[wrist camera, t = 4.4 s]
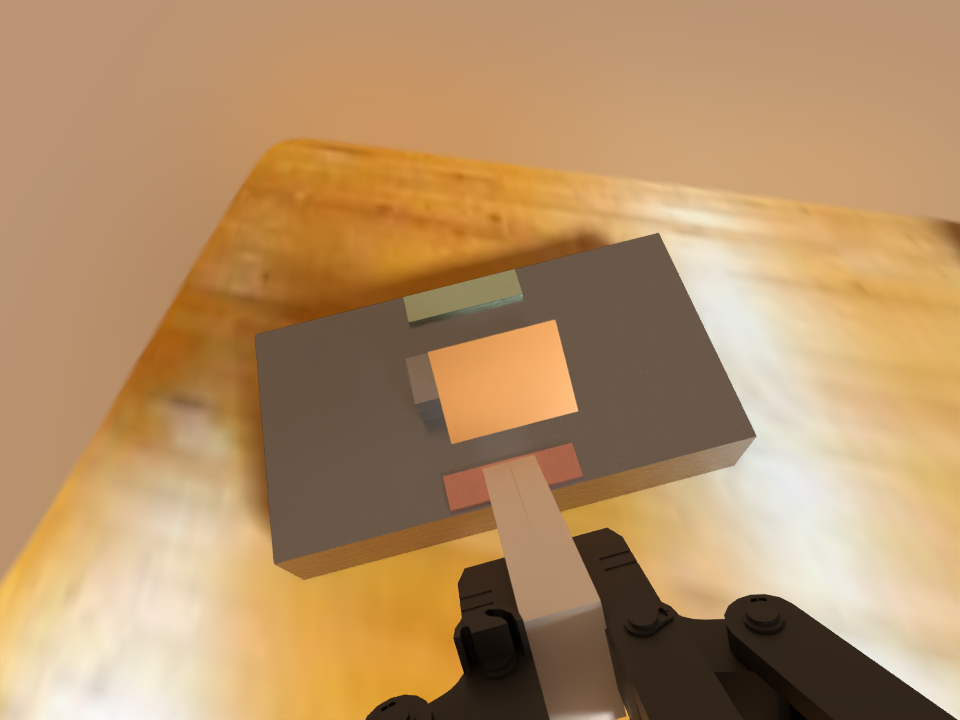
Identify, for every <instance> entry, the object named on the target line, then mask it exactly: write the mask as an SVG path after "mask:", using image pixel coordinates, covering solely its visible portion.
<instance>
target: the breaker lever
mask: <svg viewBox="0 0 960 720" xmlns="http://www.w3.org/2000/svg"><path fill="white" fill-rule="evenodd" d="M428 355H429V359H430V363H431V367H432V371H433V374H434V378H435V382H436V386H437V390H438V394H439V398H440V402H441V405H442V409H443V413H444V417H445V421H446V425H447V429H448V433H449V436H450V440H451V444H454V443H458V442H462V441H466V440H470V439H473V438H477V437H481V436H485V435H489V434H493V433H497V432H500V431H504V430H508V429H512V428H516V427H520V426H523V425H527V424H531V423H535V422H539V421H543V420H546V419H550V418H554V417H558V416H562V415H566V414H569V413H573V412H577V411H578V408H577V404H576V400H575V396H574V392H573V388H572V384H571V380H570V376H569V372H568V368H567V364H566V360H565V356H564V352H563V348H562V344H561V340H560V336H559V332H558V328H557V324H556V320H551V321H547V322H543V323H540V324H536V325H532V326H528V327H524V328H520V329H516V330H512V331H508V332H504V333H500V334H496V335H493V336H489V337H485V338H481V339H477V340H473V341H469V342H465V343H461V344H457V345H453V346H449V347H446V348H442V349H438V350H434V351H430V352H428Z"/></svg>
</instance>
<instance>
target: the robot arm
mask: <svg viewBox="0 0 960 720" xmlns="http://www.w3.org/2000/svg"><path fill="white" fill-rule="evenodd" d="M483 473H484V477H485V481H486V485H487V489H488V493H489V497H490V501H491V505H492V509H493V513H494V516H495V520H496V524H497V528H498V532H499V536H500V540H501V544H502V548H503V552H504V556H505V558H501V559H497V560H494V561H490V562H487V563H483V564H479V565H476V566H472V567H468V568H465V569H464V571H463V573H462V576H461V578H460V580H459V582H458V589H459V598H460V606H461V613H462V619H461V621H460V622H459V624H458V625H457V627H456V628H455V632H454V638H453V639H454V642H455V645H456V649H457V652H458V655H459V658H460V662H461V665H462V668H463V671H464V674H463V675H462V677H461V678H460V680H459V681H458V683H457V684H456V685H455V686H454V687H453V688H452V689H451V690H449V691H448V692H446V693H445V694H444V695H442V696H441V697H439V698H437V699H435V700H434V701H432V702H430V703H429V704H428V703H427V701H426V700H424V699H422V698H420V697H418V696H415V695H401V696H397V697H393V698H390V699H389V700H387V701H385V702H383V703H382V704H380V705H378V706H377V707H376V708H375V709H374V710H373V711H372V712H371V713H370V714H369V715H368V716H367V718H366V720H615V719H618V718H622V717H625V716H626V713H625V708H626V710H627V713H628V715H629V717H630V720H957V719H956V718H954V717H953V716H951V715H950V714H949V713H947V712H946V711H944V710H943V709H941V708H940V707H939V706H937V705H936V704H934V703H933V702H932V701H930V700H929V699H927V698H926V697H924V696H923V695H922V694H920V693H919V692H917V691H916V690H914V689H913V688H912V687H910V686H909V685H907V684H906V683H905V682H903V681H902V680H900V679H899V678H897V677H896V676H895V675H893V674H892V673H890V672H889V671H887V670H886V669H885V668H883V667H882V666H880V665H879V664H878V663H876V662H875V661H873V660H872V659H870V658H869V657H868V656H866V655H865V654H863V653H862V652H860V651H859V650H858V649H856V648H855V647H853V646H852V645H851V644H849V643H848V642H846V641H845V640H843V639H842V638H841V637H839V636H838V635H836V634H835V633H833V632H832V631H831V630H829V629H828V628H826V627H825V626H824V625H822V624H821V623H819V622H818V621H816V620H815V619H814V618H812V617H811V616H809V615H808V614H806V613H805V612H804V611H802V610H801V609H799V608H798V607H797V606H795V605H794V604H792V603H790V602H788V601H786V600H784V599H782V598H780V597H776V596H771V595H766V594H759V595H748V596H745V597H742V598H739V599H737V600H736V601H734V602H733V603H732V604H730V605H729V606H728V608H727V610H726V612H725V615H724V616H725V619H712V620H701V619H691V618H686V617H682V616H680V615H678V613H677V612H676V611H675V610H674V609H673V608H672V607H671V606H669V605H667V604H665V603H662V602H661V601H660V599H659V597H658V596H657V594H656V592H655V590H654V589H653V587H652V585H651V584H650V582H649V580H648V579H647V577H646V575H645V574H644V572H643V570H642V569H641V567H640V565H639V564H638V563H637V560H636V559H635V557H634V555H633V554H632V552H631V551H630V549H629V547H628V545H627V544H626V542H625V540H624V539H623V537H622V536H620V535H619V534H617V533H615V532H614V531H612V530H610V529H609V528H604V529H601V530H597V531H593V532H590V533H586V534H582V535H579V536H575V537H571V534H570V532H569V530H568V528H567V526H566V523H565V521H564V519H563V517H562V515H561V512H560V510H559V508H558V506H557V504H556V501H555V499H554V497H553V495H552V493H551V490H550V488H549V486H548V484H547V482H546V480H545V477H544V475H543V473H542V471H541V469H540V466H539V464H538V462H537V460H536V458H535V455H532V456H528V457H524V458H521V459H517V460H513V461H509V462H506V463H502V464H498V465H495V466H491V467H487V468H484V469H483ZM623 703H624V704H623ZM624 705H625V708H624Z"/></svg>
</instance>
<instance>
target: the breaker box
mask: <svg viewBox="0 0 960 720" xmlns="http://www.w3.org/2000/svg"><path fill="white" fill-rule="evenodd" d="M551 320H556V324H557V328H558V332H559V336H560V340H561V344H562V348H563V352H564V356H565V360H566V364H567V368H568V372H569V376H570V380H571V384H572V388H573V392H574V396H575V400H576V404H577V408H578V411H577V412H573V413H569V414H566V415H562V416H558V417H554V418H550V419H546V420H543V421H539V422H535V423H531V424H527V425H523V426H520V427H516V428H512V429H508V430H504V431H500V432H497V433H493V434H489V435H485V436H481V437H477V438H473V439H470V440H466V441H462V442H458V443H454V444H451V440H450V436H449V433H448V429H447V425H446V421H445V417H444V413H443V409H442V405H441V402H440V398H439V394H438V390H437V386H436V382H435V378H434V374H433V371H432V367H431V363H430V359H429V355H428V352H430V351H434V350H438V349H442V348H446V347H449V346H453V345H457V344H461V343H465V342H469V341H473V340H477V339H481V338H485V337H489V336H493V335H496V334H500V333H504V332H508V331H512V330H516V329H520V328H524V327H528V326H532V325H536V324H540V323H543V322H547V321H551ZM255 345H256V357H257V369H258V380H259V392H260V404H261V416H262V428H263V440H264V452H265V463H266V475H267V487H268V499H269V511H270V523H271V534H272V546H273V558H274V564H275V565H277V566H279V567H281V568H283V569H285V570H286V571H288V572H290V573H292V574H294V575H296V576H298V577H300V578H302V579H304V580H305V579H308V578H312V577H316V576H320V575H324V574H327V573H331V572H335V571H339V570H342V569H346V568H350V567H354V566H357V565H361V564H365V563H369V562H372V561H376V560H380V559H384V558H387V557H391V556H395V555H399V554H403V553H406V552H410V551H414V550H418V549H421V548H425V547H429V546H433V545H436V544H440V543H444V542H448V541H451V540H455V539H459V538H463V537H466V536H470V535H474V534H478V533H482V532H485V531H489V530H493V529H497V524H496V520H495V516H494V513H493V509H492V505H491V501H490V497H489V493H488V489H487V485H486V481H485V477H484V473H483V469H484V468H487V467H491V466H495V465H498V464H502V463H506V462H509V461H513V460H517V459H521V458H524V457H528V456H532V455H535V458H536V460H537V462H538V464H539V466H540V469H541V471H542V473H543V475H544V477H545V480H546V482H547V484H548V486H549V488H550V490H551V493H552V495H553V497H554V499H555V501H556V504H557V506H558V508H559V510H560V512H561V511H564V510H568V509H572V508H576V507H579V506H583V505H587V504H591V503H594V502H598V501H602V500H606V499H609V498H613V497H617V496H621V495H625V494H628V493H632V492H636V491H640V490H643V489H647V488H651V487H655V486H658V485H662V484H666V483H670V482H673V481H677V480H681V479H685V478H688V477H692V476H696V475H700V474H704V473H707V472H711V471H715V470H719V469H722V468H726V467H730V466H734V465H735V463H736V462H737V461H738V460H739V458H740V457H741V456H742V454H743V453H744V452H745V451H746V449H747V448H748V447H749V445H750V444H751V443H752V442H753V440H754V439H755V438H756V437H757V436H756V434H755V432H754V430H753V428H752V426H751V424H750V422H749V419H748V417H747V415H746V413H745V411H744V409H743V407H742V405H741V403H740V401H739V399H738V397H737V395H736V392H735V390H734V388H733V386H732V384H731V382H730V380H729V378H728V376H727V374H726V372H725V370H724V368H723V365H722V363H721V361H720V359H719V357H718V355H717V353H716V351H715V349H714V347H713V345H712V343H711V341H710V338H709V336H708V334H707V332H706V330H705V328H704V326H703V324H702V322H701V320H700V318H699V316H698V314H697V311H696V309H695V307H694V305H693V303H692V301H691V299H690V297H689V295H688V293H687V291H686V289H685V287H684V284H683V282H682V280H681V278H680V276H679V274H678V272H677V270H676V268H675V266H674V264H673V262H672V260H671V257H670V255H669V253H668V251H667V249H666V247H665V245H664V243H663V241H662V239H661V237H660V235H659V233H656V234H652V235H648V236H644V237H640V238H636V239H632V240H629V241H625V242H621V243H617V244H613V245H609V246H605V247H601V248H597V249H593V250H589V251H585V252H581V253H577V254H573V255H569V256H565V257H561V258H557V259H553V260H549V261H545V262H541V263H537V264H533V265H529V266H525V267H522V268H518V269H513V270H509V271H505V272H501V273H497V274H493V275H489V276H485V277H481V278H477V279H473V280H469V281H465V282H461V283H457V284H453V285H449V286H445V287H441V288H438V289H434V290H430V291H426V292H422V293H418V294H414V295H410V296H406V297H403V298H399V299H395V300H391V301H387V302H383V303H379V304H375V305H371V306H367V307H363V308H359V309H355V310H351V311H347V312H343V313H339V314H335V315H331V316H327V317H323V318H319V319H315V320H311V321H308V322H304V323H300V324H296V325H292V326H288V327H284V328H280V329H276V330H272V331H268V332H264V333H260V334H256V335H255Z"/></svg>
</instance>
